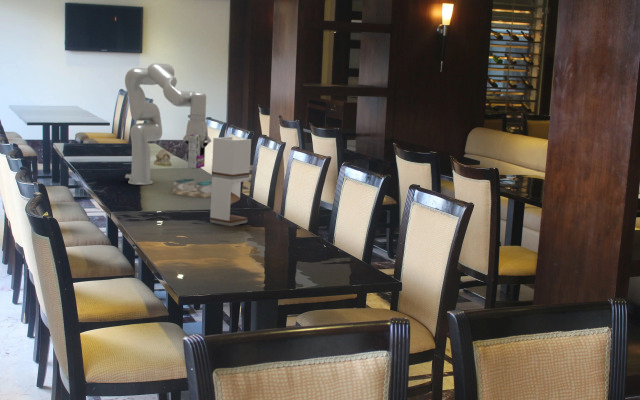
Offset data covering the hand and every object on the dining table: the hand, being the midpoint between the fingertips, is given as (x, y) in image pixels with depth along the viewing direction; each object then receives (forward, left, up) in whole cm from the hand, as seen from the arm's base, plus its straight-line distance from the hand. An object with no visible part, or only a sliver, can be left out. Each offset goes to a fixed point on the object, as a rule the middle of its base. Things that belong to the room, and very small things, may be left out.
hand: (196, 154), depth 396 cm
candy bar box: (0, 0, -7) cm, 7 cm away
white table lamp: (+44, -56, -20) cm, 74 cm away
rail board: (0, 0, -20) cm, 20 cm away
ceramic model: (-68, +90, -20) cm, 114 cm away
